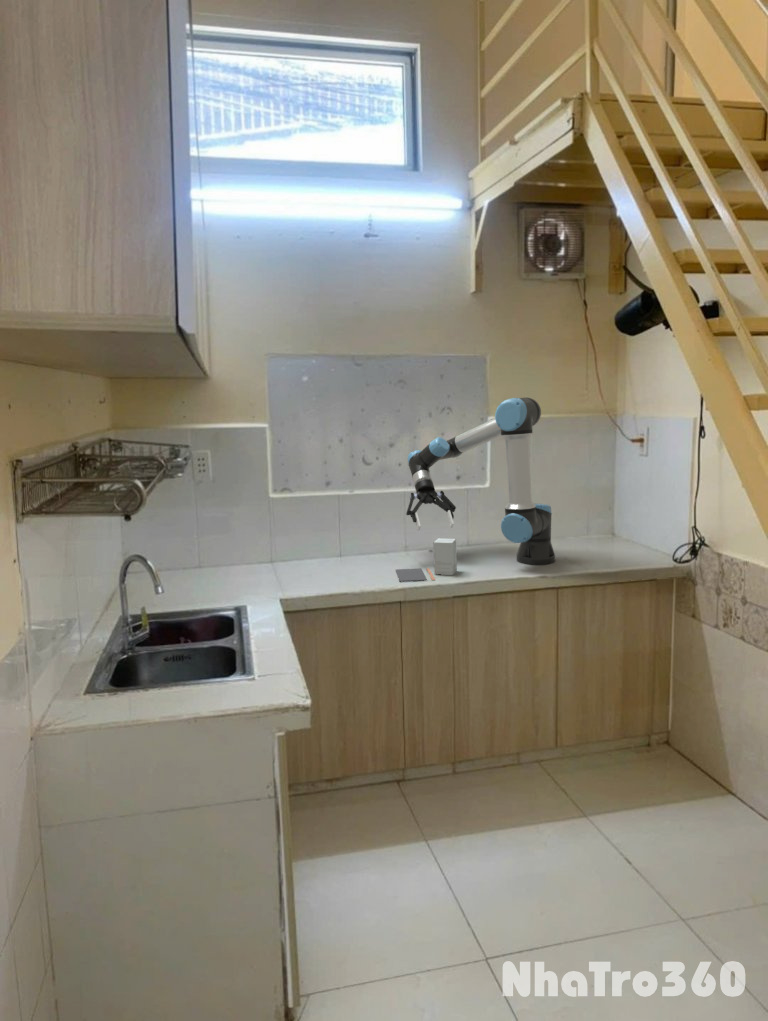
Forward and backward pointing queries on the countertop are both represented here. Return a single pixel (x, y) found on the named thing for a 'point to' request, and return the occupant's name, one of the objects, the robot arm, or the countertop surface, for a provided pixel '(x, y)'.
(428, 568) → the terracotta line
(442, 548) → the supplement box
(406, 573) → the mat
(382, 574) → the countertop surface
